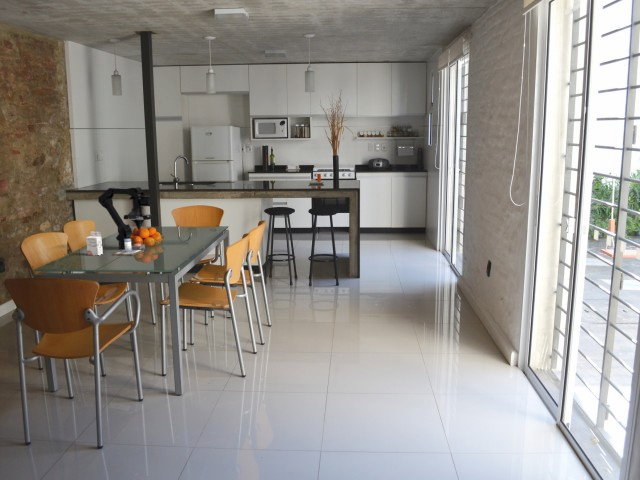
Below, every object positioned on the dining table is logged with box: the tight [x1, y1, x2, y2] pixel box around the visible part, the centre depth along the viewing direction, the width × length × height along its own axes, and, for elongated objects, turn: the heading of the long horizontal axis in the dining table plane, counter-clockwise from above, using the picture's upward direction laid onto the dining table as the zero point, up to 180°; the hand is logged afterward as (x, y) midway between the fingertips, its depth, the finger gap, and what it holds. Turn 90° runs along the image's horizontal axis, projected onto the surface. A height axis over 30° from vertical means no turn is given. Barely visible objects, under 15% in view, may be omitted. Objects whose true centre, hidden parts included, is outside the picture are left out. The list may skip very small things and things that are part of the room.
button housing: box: [131, 244, 146, 251], centre depth 398 cm, size 6×6×3 cm
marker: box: [124, 238, 132, 252], centre depth 386 cm, size 4×4×8 cm
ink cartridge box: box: [85, 230, 104, 256], centre depth 385 cm, size 9×5×15 cm, turn 71°
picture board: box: [112, 249, 145, 257], centre depth 387 cm, size 14×14×1 cm
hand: (139, 229), depth 398 cm, fingers closed
